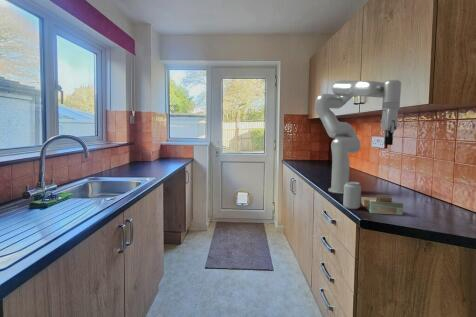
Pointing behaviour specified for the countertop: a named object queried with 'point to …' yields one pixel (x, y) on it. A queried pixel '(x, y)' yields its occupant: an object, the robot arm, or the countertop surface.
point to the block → (383, 198)
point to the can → (352, 195)
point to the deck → (382, 206)
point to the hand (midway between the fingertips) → (388, 144)
